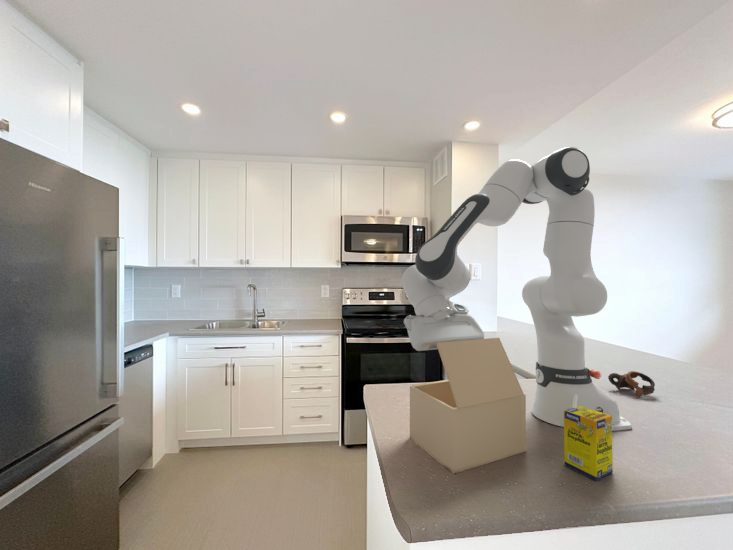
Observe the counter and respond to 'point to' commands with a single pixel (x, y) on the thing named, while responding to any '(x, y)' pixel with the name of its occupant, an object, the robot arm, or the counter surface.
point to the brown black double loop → (632, 382)
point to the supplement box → (588, 442)
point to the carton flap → (478, 371)
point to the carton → (465, 427)
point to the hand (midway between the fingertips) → (462, 361)
